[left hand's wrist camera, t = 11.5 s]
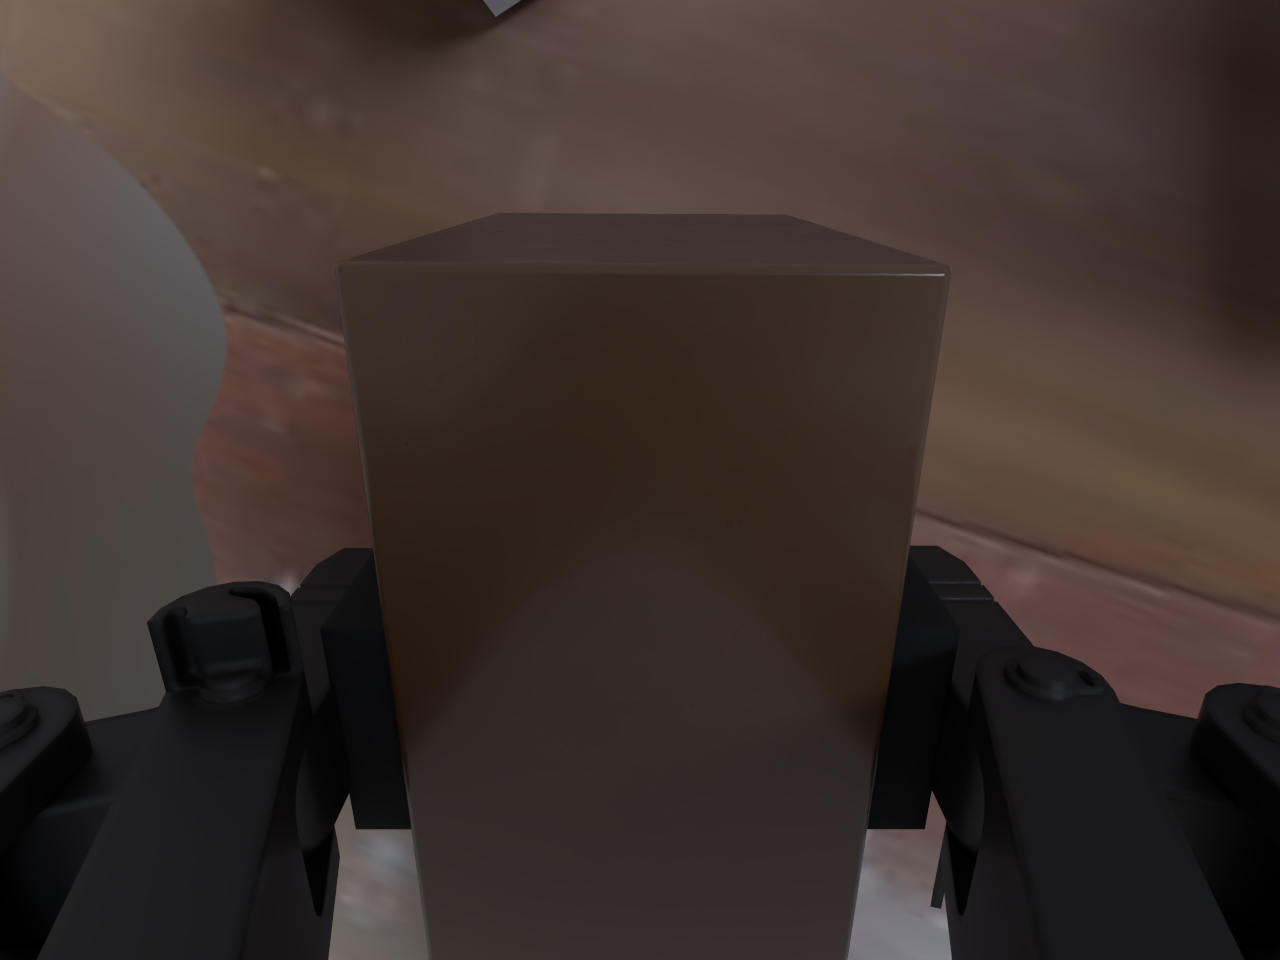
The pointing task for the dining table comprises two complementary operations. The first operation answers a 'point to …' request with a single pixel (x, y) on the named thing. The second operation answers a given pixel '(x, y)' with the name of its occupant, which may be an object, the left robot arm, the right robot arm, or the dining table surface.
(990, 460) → the dining table surface
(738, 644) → the post
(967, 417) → the dining table surface
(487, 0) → the electronic device
